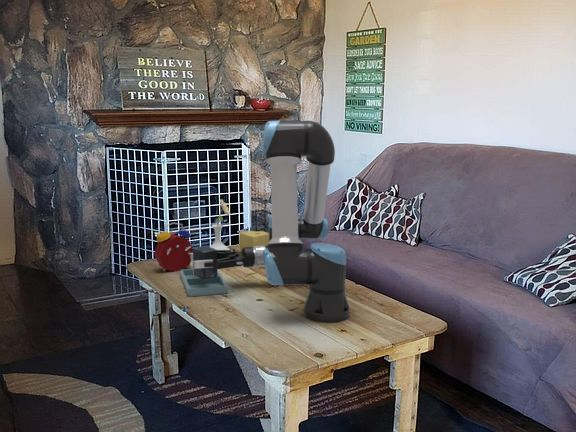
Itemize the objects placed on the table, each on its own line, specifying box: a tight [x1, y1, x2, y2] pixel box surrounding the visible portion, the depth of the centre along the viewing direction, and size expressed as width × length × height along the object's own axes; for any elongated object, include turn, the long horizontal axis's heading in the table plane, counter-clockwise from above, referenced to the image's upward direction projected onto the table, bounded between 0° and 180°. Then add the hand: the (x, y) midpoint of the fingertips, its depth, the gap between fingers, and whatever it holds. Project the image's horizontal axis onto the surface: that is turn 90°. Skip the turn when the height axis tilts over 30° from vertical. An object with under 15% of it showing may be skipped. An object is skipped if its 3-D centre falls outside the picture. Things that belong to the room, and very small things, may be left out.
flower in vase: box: [209, 199, 231, 250], centre depth 258 cm, size 13×11×25 cm
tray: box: [179, 268, 229, 298], centre depth 220 cm, size 24×14×3 cm, turn 17°
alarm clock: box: [153, 222, 194, 272], centre depth 235 cm, size 15×9×20 cm, turn 123°
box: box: [192, 245, 218, 280], centre depth 213 cm, size 8×6×11 cm
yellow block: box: [238, 230, 269, 252], centre depth 262 cm, size 10×11×10 cm
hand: (192, 260), depth 212 cm, fingers closed on box, 9 cm apart
